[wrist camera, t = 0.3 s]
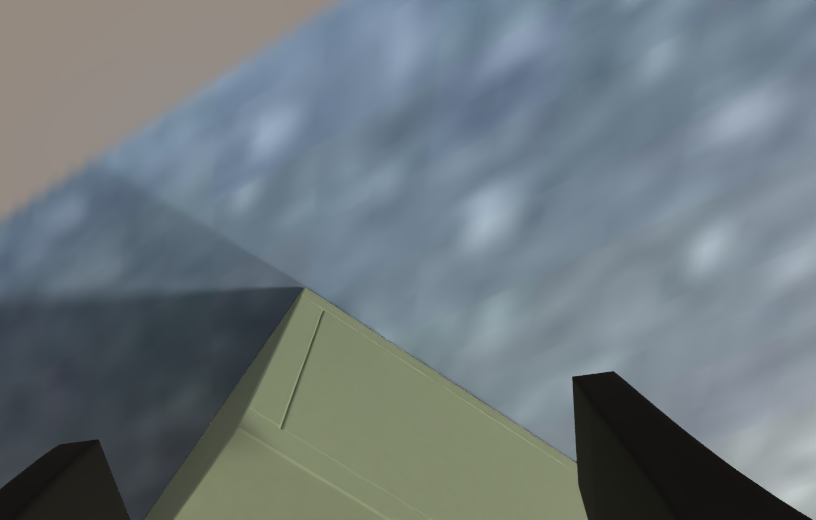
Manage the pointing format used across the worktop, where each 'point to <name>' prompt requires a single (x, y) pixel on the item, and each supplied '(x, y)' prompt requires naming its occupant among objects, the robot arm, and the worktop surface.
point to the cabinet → (361, 439)
